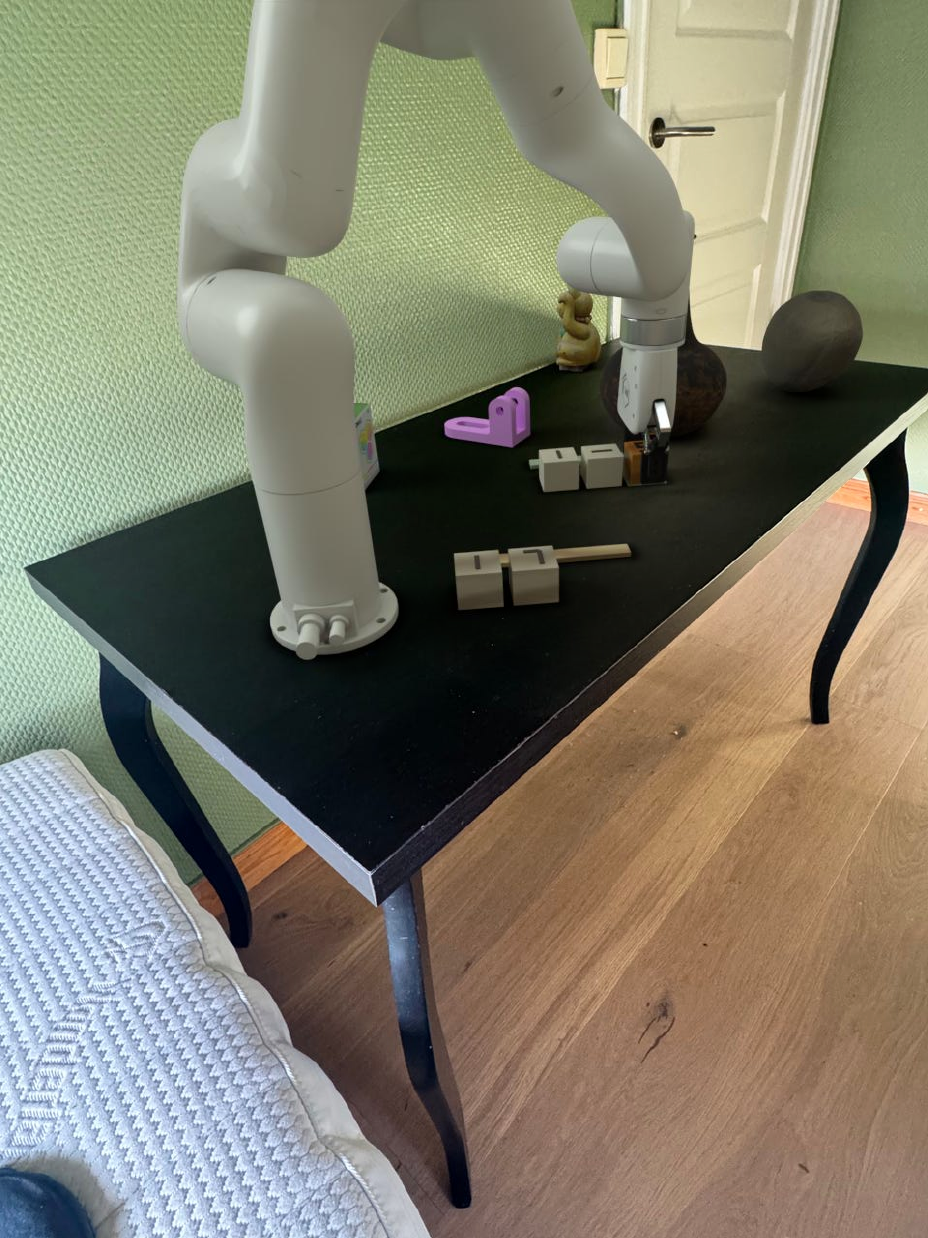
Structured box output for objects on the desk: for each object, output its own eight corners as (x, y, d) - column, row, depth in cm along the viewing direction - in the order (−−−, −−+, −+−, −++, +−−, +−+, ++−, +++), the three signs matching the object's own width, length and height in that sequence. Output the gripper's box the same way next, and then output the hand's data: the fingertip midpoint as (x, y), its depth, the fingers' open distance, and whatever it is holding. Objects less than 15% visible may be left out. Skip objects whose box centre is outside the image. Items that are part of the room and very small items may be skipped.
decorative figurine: (560, 359, 147) (560, 275, 139) (603, 359, 145) (606, 274, 137) (552, 373, 140) (551, 286, 131) (597, 374, 138) (600, 285, 129)
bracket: (530, 434, 115) (529, 388, 111) (512, 447, 111) (510, 400, 107) (457, 423, 121) (454, 379, 117) (438, 435, 117) (434, 390, 113)
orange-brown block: (665, 481, 97) (668, 451, 95) (630, 484, 97) (632, 454, 95) (656, 468, 101) (659, 438, 99) (622, 470, 101) (624, 441, 99)
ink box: (365, 492, 101) (350, 392, 94) (337, 492, 102) (319, 392, 94) (380, 471, 107) (367, 375, 99) (353, 471, 107) (338, 375, 100)
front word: (648, 594, 76) (651, 558, 73) (458, 610, 76) (455, 574, 73) (626, 548, 84) (628, 514, 82) (455, 562, 84) (452, 529, 82)
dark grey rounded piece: (751, 402, 120) (766, 301, 111) (759, 376, 130) (773, 282, 122) (850, 408, 115) (873, 303, 106) (849, 380, 125) (870, 282, 117)
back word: (670, 482, 97) (673, 452, 95) (538, 493, 97) (537, 463, 95) (651, 453, 105) (653, 424, 103) (529, 463, 105) (528, 435, 103)
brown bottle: (679, 401, 123) (696, 204, 107) (747, 436, 108) (778, 215, 93) (577, 420, 119) (581, 218, 103) (634, 459, 104) (648, 232, 89)
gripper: (605, 315, 96) (601, 446, 106) (638, 351, 82) (629, 498, 91) (664, 310, 96) (654, 441, 106) (707, 345, 82) (691, 493, 91)
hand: (643, 467), depth 98 cm, fingers open, 9 cm apart
